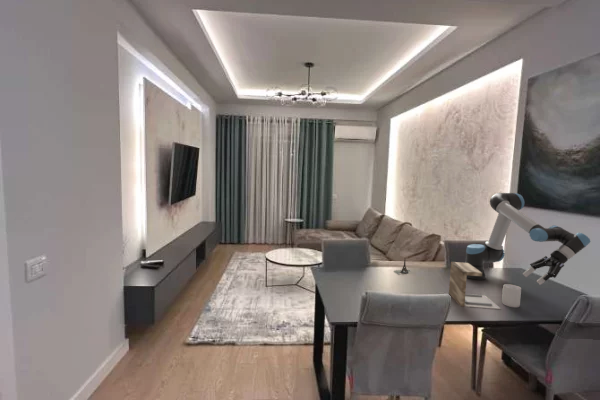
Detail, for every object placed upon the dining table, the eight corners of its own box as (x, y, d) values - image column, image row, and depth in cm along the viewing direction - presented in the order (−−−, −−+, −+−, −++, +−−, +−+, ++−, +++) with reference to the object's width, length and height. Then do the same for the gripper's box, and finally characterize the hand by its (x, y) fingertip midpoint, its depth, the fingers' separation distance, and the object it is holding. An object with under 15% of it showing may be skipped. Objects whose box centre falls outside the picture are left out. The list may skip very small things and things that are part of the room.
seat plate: (484, 295, 197) (484, 293, 197) (500, 309, 177) (500, 306, 177) (453, 293, 199) (454, 291, 199) (466, 306, 180) (466, 304, 179)
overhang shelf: (465, 294, 198) (468, 262, 197) (479, 307, 179) (482, 272, 177) (448, 293, 200) (450, 261, 198) (460, 306, 180) (463, 271, 178)
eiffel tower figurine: (409, 270, 248) (410, 253, 247) (416, 274, 238) (417, 256, 237) (391, 271, 245) (392, 254, 244) (398, 275, 235) (399, 257, 234)
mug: (508, 299, 192) (510, 282, 191) (523, 307, 180) (525, 289, 179) (494, 299, 192) (496, 281, 191) (508, 307, 180) (510, 289, 179)
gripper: (583, 265, 168) (549, 291, 171) (552, 254, 193) (523, 277, 196) (573, 255, 168) (539, 281, 171) (543, 245, 193) (514, 268, 196)
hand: (530, 279), depth 183 cm, fingers open, 13 cm apart
